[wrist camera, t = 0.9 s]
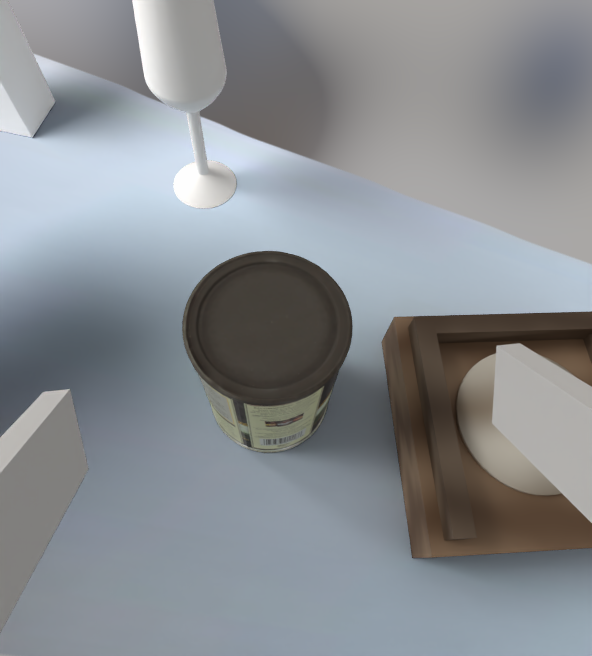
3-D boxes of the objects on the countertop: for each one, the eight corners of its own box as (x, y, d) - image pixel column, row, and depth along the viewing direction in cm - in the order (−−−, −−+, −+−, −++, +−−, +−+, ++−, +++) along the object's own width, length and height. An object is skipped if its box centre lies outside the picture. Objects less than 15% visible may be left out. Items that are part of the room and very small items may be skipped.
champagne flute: (159, 184, 51) (79, -89, 30) (205, 150, 54) (161, -126, 32) (204, 219, 50) (153, -44, 28) (249, 182, 52) (235, -87, 30)
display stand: (637, 544, 38) (710, 541, 32) (412, 557, 37) (441, 557, 30) (569, 336, 46) (617, 299, 39) (381, 341, 45) (400, 305, 38)
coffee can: (278, 318, 45) (281, 223, 32) (352, 402, 42) (387, 333, 29) (185, 384, 42) (148, 307, 29) (257, 480, 39) (251, 440, 26)
